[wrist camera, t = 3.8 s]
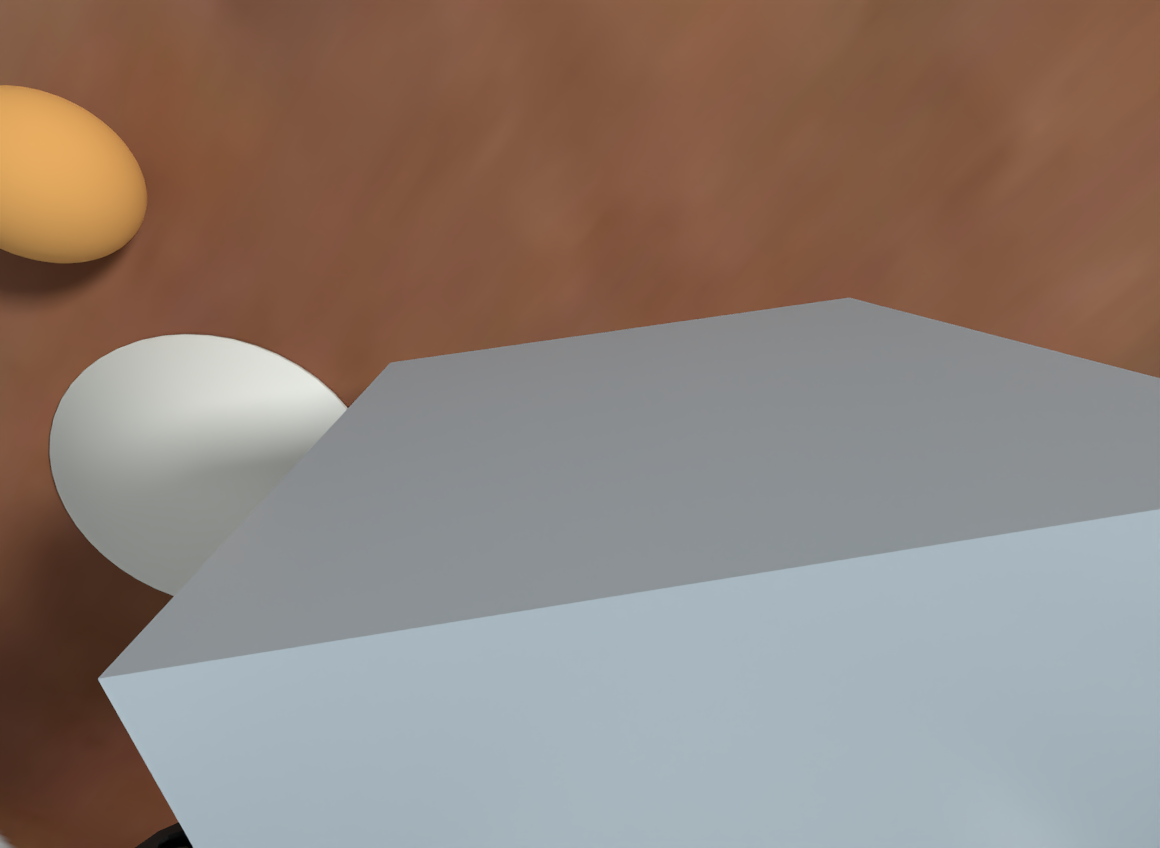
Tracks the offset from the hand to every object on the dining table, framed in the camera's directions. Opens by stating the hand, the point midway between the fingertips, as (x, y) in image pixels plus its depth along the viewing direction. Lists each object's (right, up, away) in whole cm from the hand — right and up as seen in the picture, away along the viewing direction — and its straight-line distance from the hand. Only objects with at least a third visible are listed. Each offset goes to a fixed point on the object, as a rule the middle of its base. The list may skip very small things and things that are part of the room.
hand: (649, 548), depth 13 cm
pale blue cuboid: (0, 0, +1) cm, 1 cm away
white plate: (-17, 0, +11) cm, 20 cm away
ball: (-18, +11, +4) cm, 21 cm away
